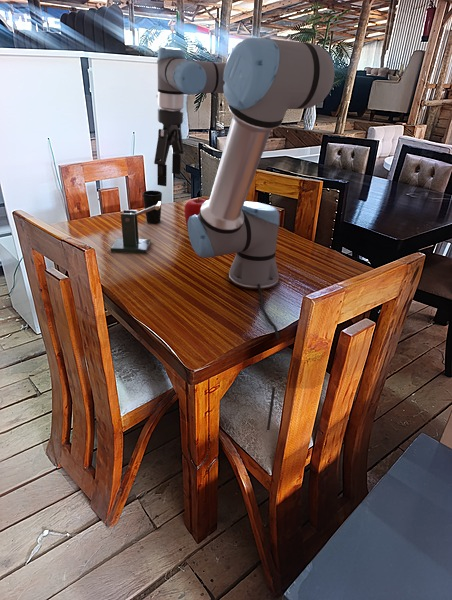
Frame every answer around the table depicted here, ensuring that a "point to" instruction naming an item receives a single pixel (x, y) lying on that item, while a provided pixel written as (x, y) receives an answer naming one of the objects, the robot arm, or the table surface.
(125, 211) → the stand
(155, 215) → the cup
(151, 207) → the switch lever
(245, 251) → the robot arm
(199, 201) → the apple
